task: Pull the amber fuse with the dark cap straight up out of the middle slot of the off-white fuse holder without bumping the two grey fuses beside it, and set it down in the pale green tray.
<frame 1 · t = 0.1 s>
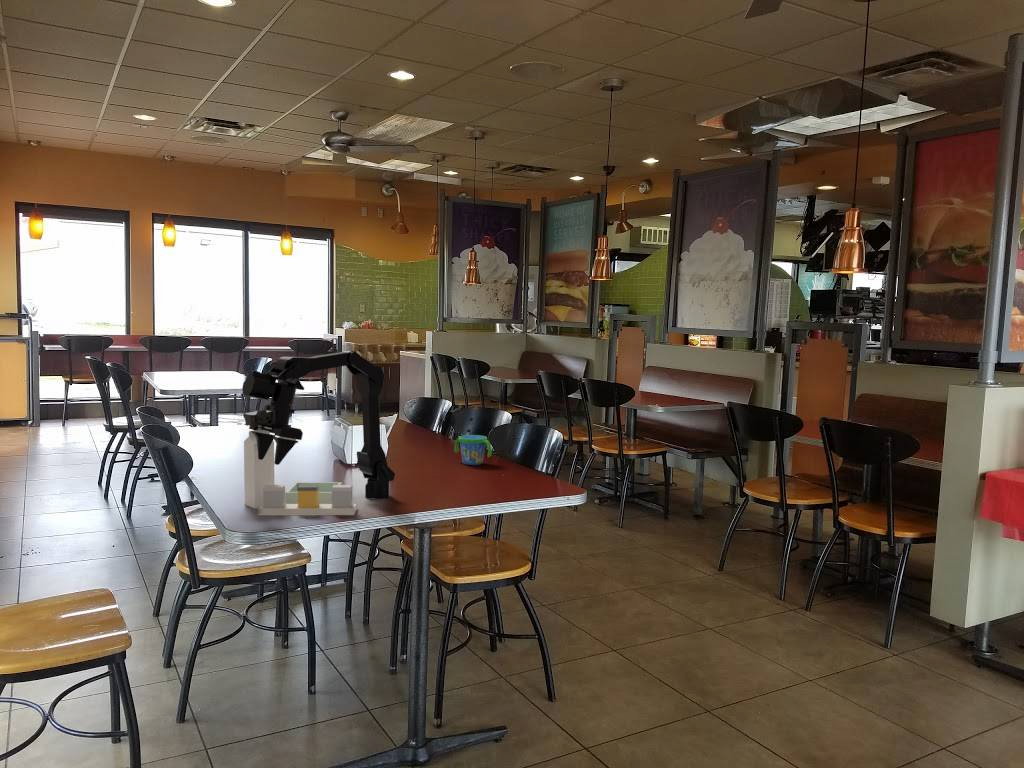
hand: (268, 462, 198), 15 cm above the table, tool pointing down, fingers open, 9 cm apart
grey fuse 1: (274, 511, 203), point 1 cm above the table, touching fuse holder
snack cup: (472, 464, 283), on the table
amber fuse: (308, 511, 204), point 1 cm above the table, touching fuse holder
milk: (259, 508, 211), on the table
green tray: (314, 502, 219), on the table
fuse holder: (308, 515, 204), on the table
grey fuse 2: (342, 511, 205), point 1 cm above the table, touching fuse holder
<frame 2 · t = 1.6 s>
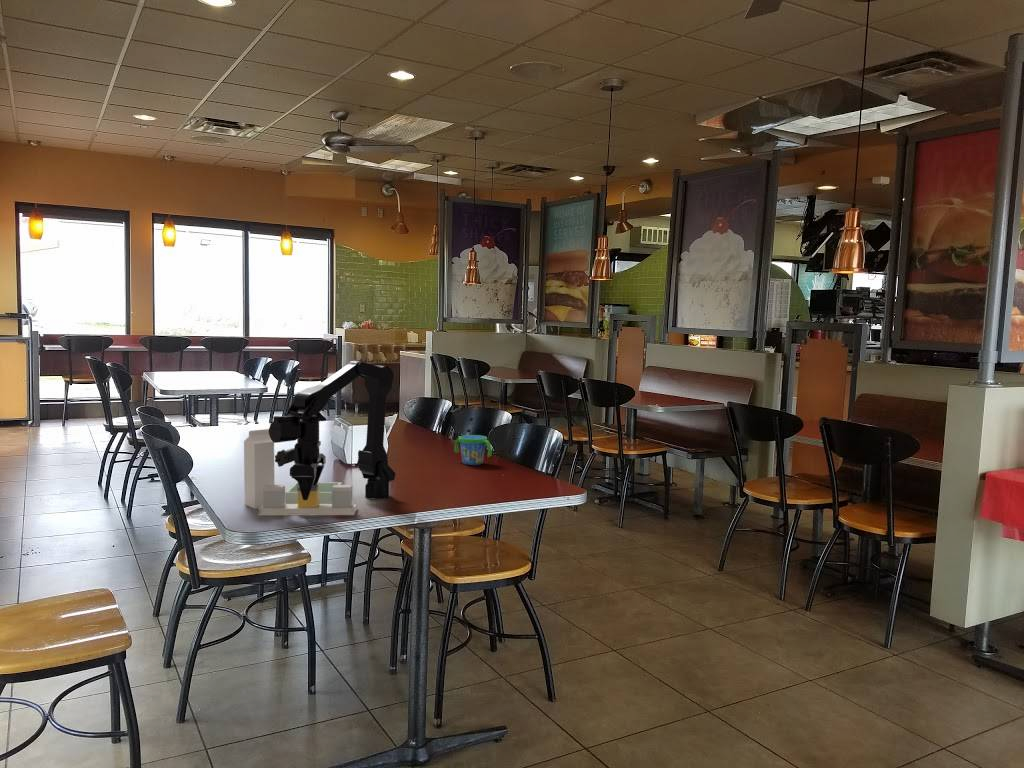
hand: (308, 496, 204), 5 cm above the table, tool pointing down, fingers open, 9 cm apart
nothing on the table moved.
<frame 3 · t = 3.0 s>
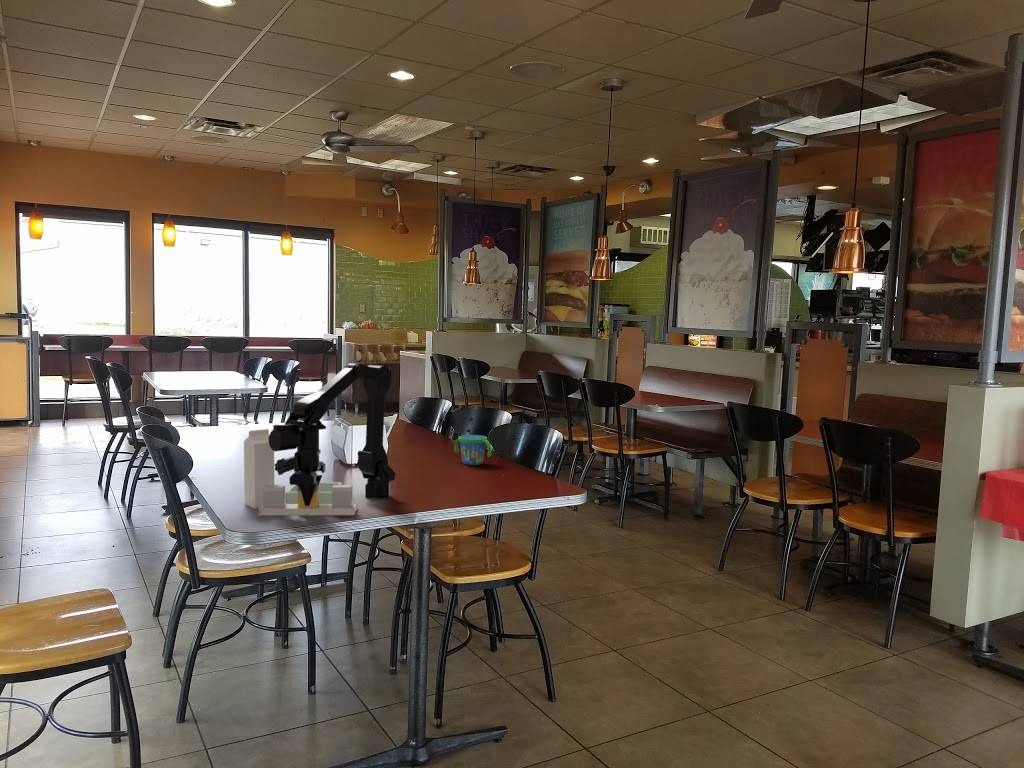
hand: (308, 504, 204), 3 cm above the table, tool pointing down, fingers closed on amber fuse, 3 cm apart
amber fuse: (308, 511, 204), point 1 cm above the table, touching fuse holder, gripper
everything else where it was.
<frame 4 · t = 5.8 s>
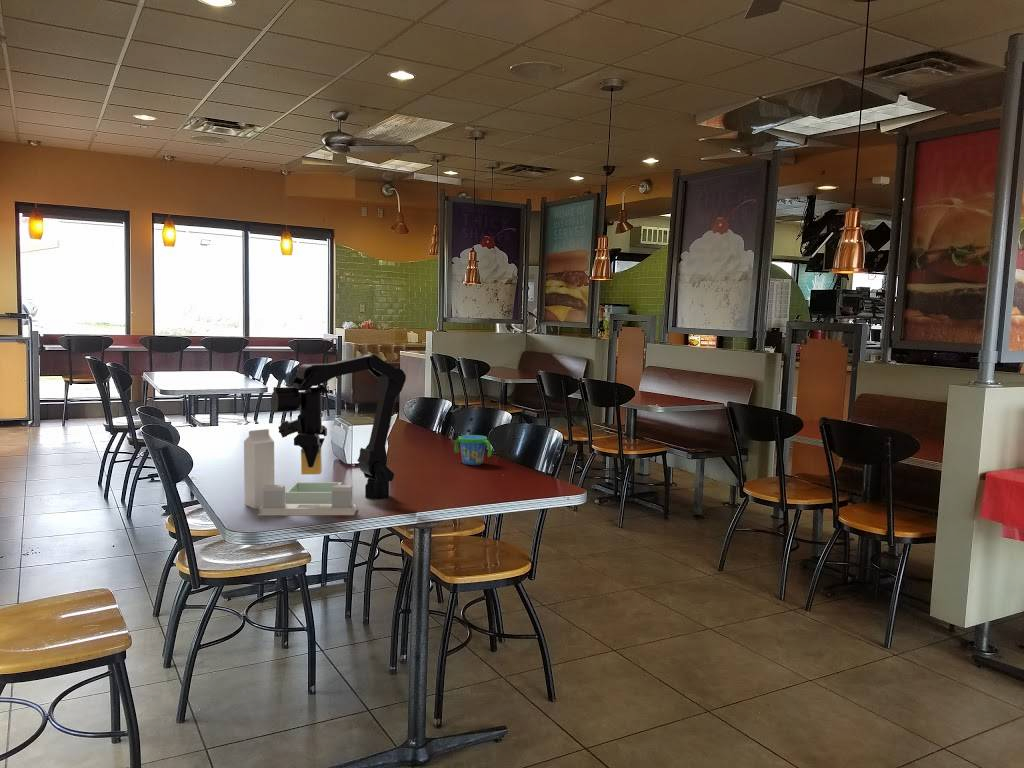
hand: (311, 466, 209), 12 cm above the table, tool pointing down, fingers closed on amber fuse, 3 cm apart
amber fuse: (311, 473, 209), point 10 cm above the table, touching gripper
everything else where it was.
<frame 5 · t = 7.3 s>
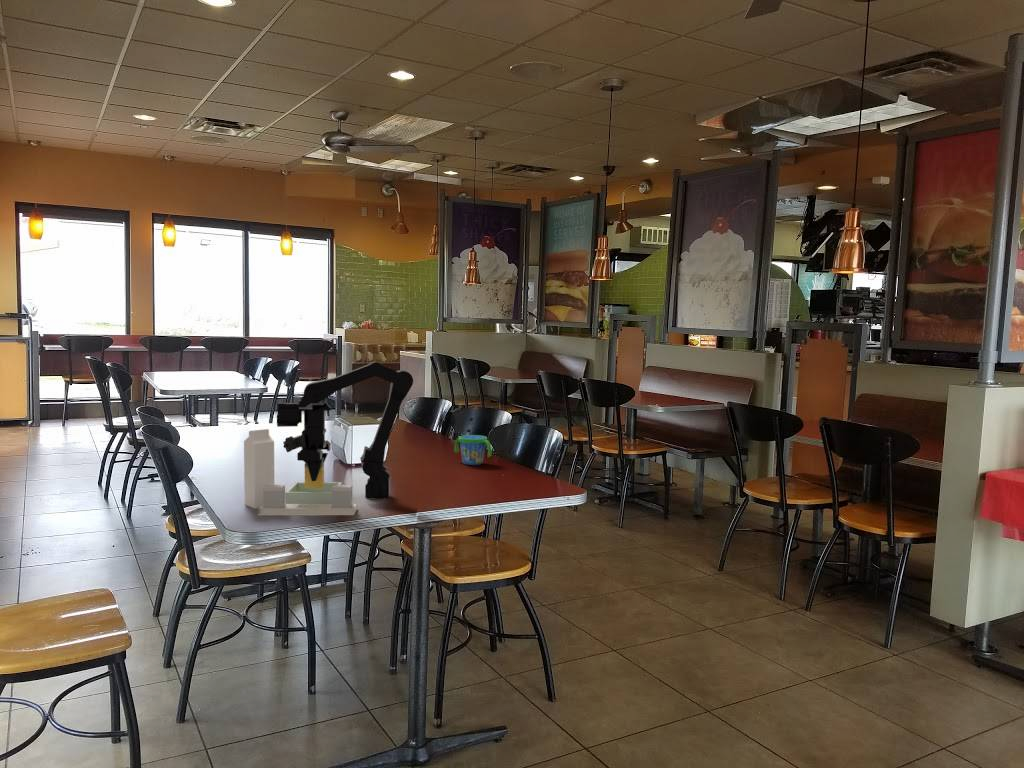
hand: (314, 479, 218), 7 cm above the table, tool pointing down, fingers closed on amber fuse, 3 cm apart
amber fuse: (314, 486, 218), point 5 cm above the table, touching gripper
everything else where it was.
when the fingers open (4 cm above the table, at t = 8.4 s): amber fuse stays where it is, resting on green tray.
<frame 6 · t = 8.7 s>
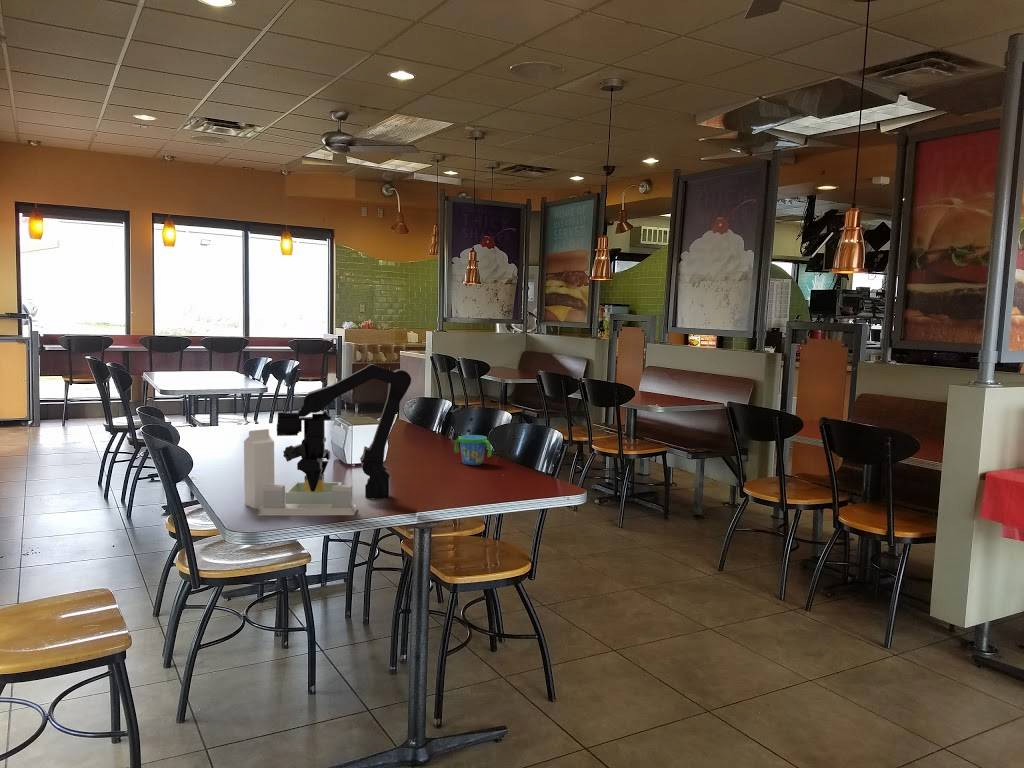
hand: (314, 488, 218), 4 cm above the table, tool pointing down, fingers open, 6 cm apart
amber fuse: (314, 499, 218), point 1 cm above the table, touching green tray
everything else where it was.
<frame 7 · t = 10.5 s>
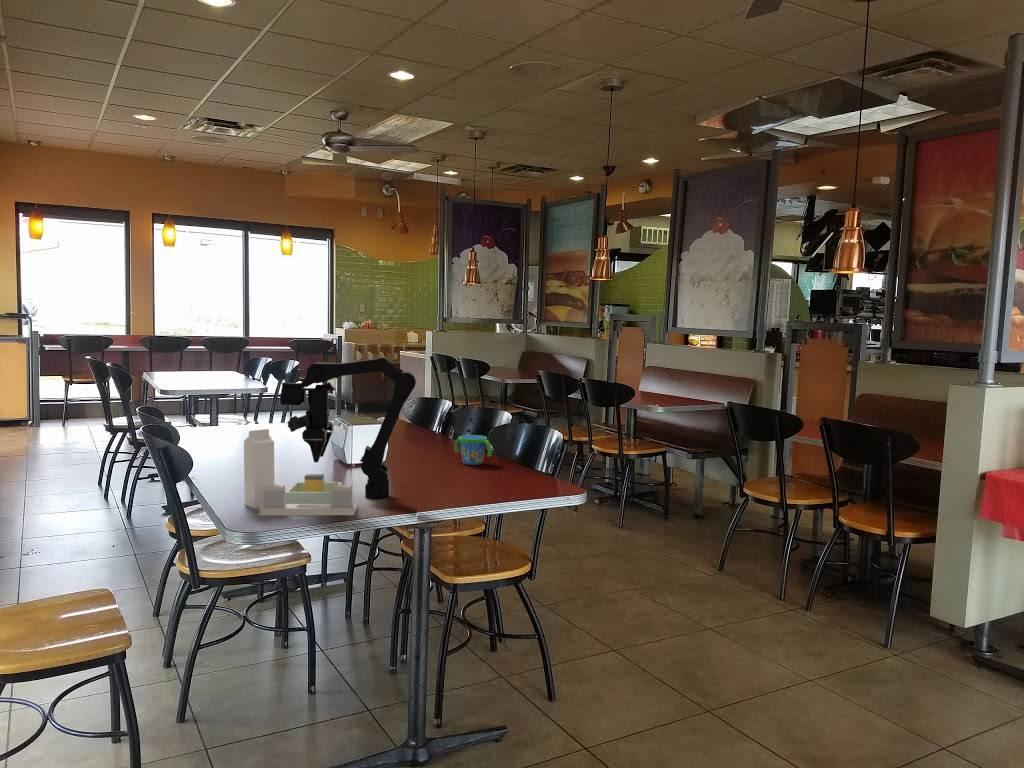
hand: (318, 459, 220), 12 cm above the table, tool pointing down, fingers open, 9 cm apart
nothing on the table moved.
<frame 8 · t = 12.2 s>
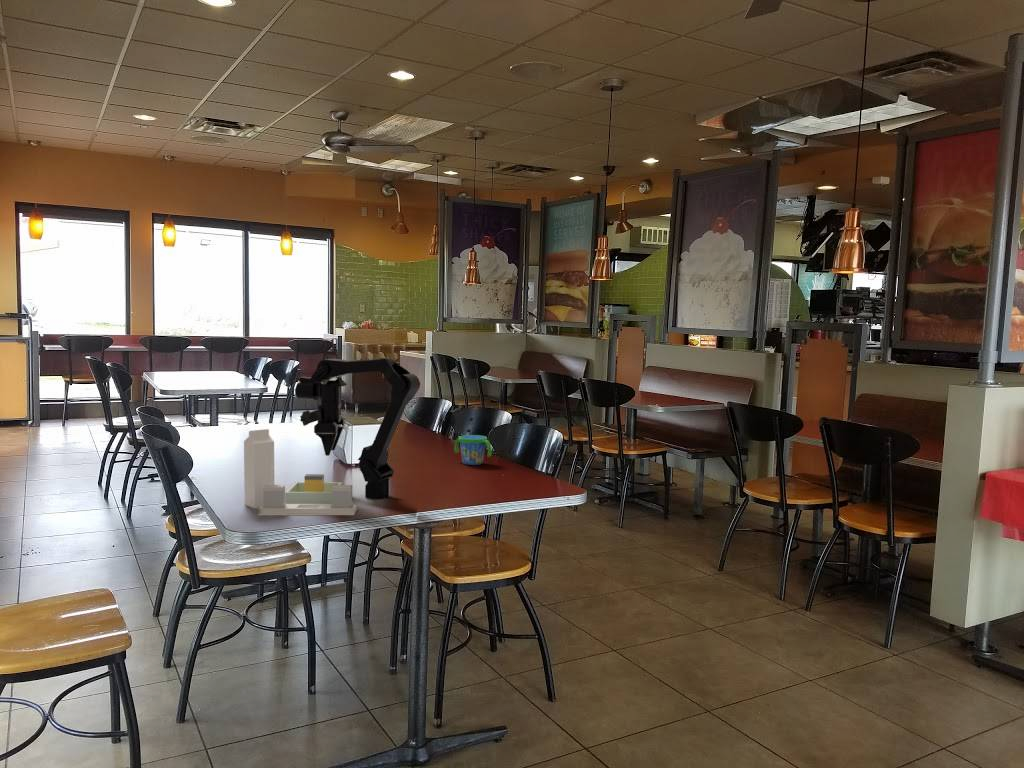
hand: (330, 452, 227), 13 cm above the table, tool pointing down, fingers open, 9 cm apart
nothing on the table moved.
at the end: amber fuse inside the target area on the green tray (0.0 cm from its centre), point 1.0 cm above the green tray's base; grey fuse 2 moved 0.0 cm from its start; grey fuse 1 moved 0.0 cm from its start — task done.
